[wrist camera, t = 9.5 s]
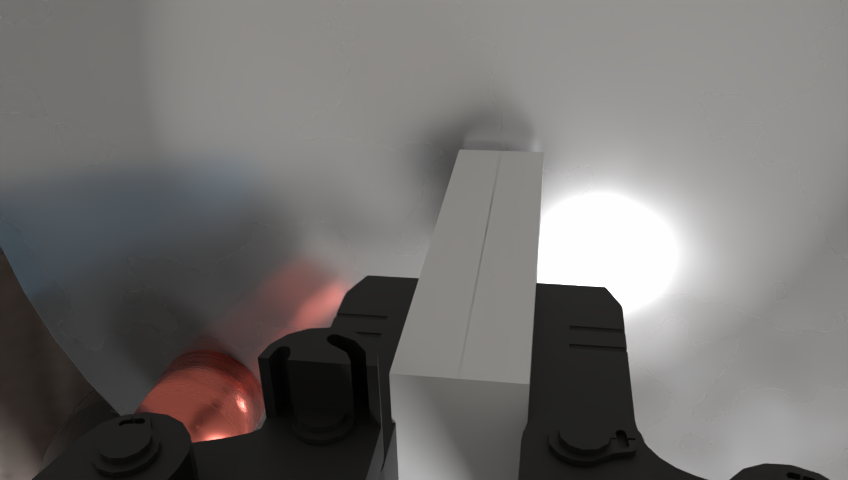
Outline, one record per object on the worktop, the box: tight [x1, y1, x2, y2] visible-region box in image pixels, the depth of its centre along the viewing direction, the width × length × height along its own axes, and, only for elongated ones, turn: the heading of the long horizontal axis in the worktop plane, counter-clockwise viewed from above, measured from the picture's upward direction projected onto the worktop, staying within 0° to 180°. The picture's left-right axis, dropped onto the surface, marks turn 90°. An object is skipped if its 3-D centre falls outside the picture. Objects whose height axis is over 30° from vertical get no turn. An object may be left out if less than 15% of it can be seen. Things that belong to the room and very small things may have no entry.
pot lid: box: [0, 0, 848, 480], centre depth 15 cm, size 20×20×3 cm
